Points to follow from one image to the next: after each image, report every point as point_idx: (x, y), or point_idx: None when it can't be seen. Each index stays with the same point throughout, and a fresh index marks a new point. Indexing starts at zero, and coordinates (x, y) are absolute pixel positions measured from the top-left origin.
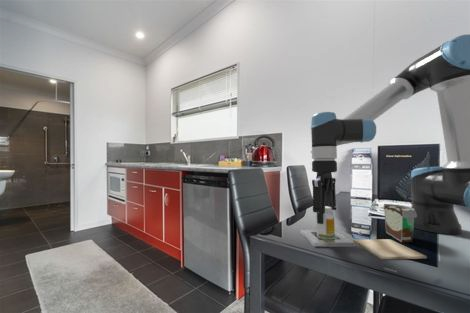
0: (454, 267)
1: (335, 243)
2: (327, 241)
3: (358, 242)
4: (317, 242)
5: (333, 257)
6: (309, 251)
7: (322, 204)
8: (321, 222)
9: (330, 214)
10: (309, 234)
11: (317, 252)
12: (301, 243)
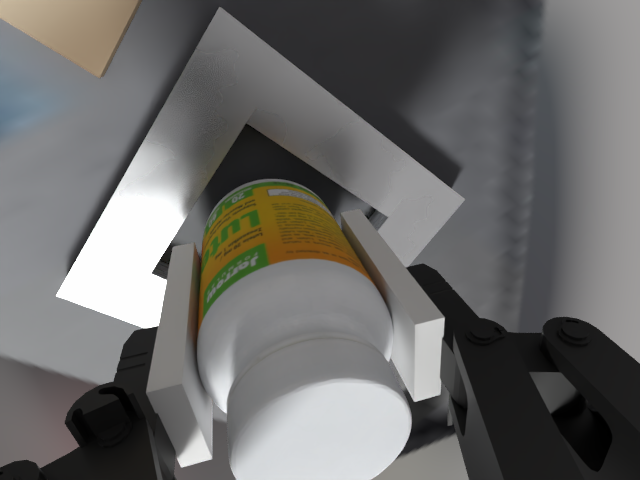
0: None
1: (356, 114)
2: (379, 164)
3: (130, 4)
4: (446, 192)
5: (529, 25)
6: (528, 167)
7: (548, 431)
8: (436, 273)
9: (310, 315)
10: None
11: (515, 131)
12: (450, 261)
